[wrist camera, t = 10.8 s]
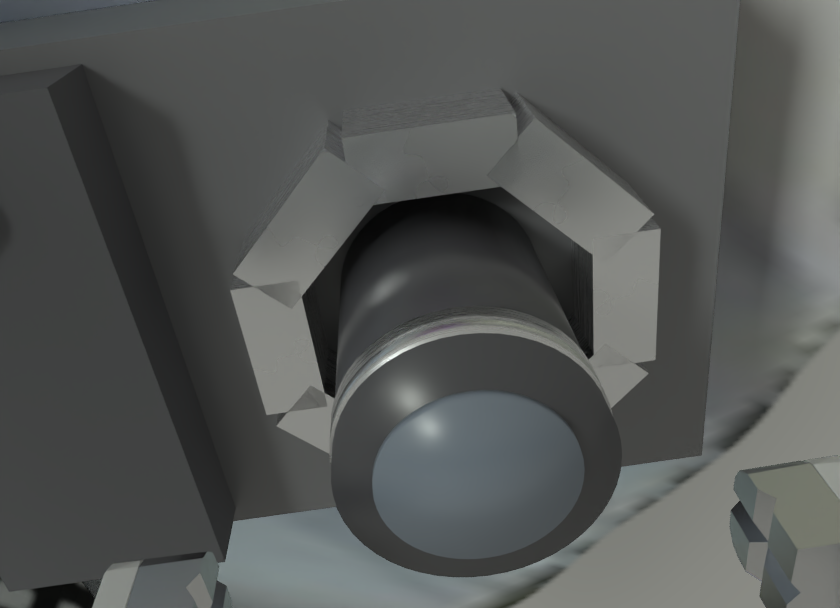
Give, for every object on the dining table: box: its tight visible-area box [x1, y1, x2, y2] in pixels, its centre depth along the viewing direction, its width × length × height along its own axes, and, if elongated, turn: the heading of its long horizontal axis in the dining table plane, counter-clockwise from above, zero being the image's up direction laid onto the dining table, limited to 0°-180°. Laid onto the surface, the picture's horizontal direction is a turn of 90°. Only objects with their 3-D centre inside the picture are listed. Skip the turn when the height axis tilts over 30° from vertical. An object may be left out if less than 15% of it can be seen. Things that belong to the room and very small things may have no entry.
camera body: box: [0, 0, 740, 592], centre depth 20 cm, size 20×14×8 cm
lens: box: [329, 193, 622, 577], centre depth 16 cm, size 5×5×7 cm
